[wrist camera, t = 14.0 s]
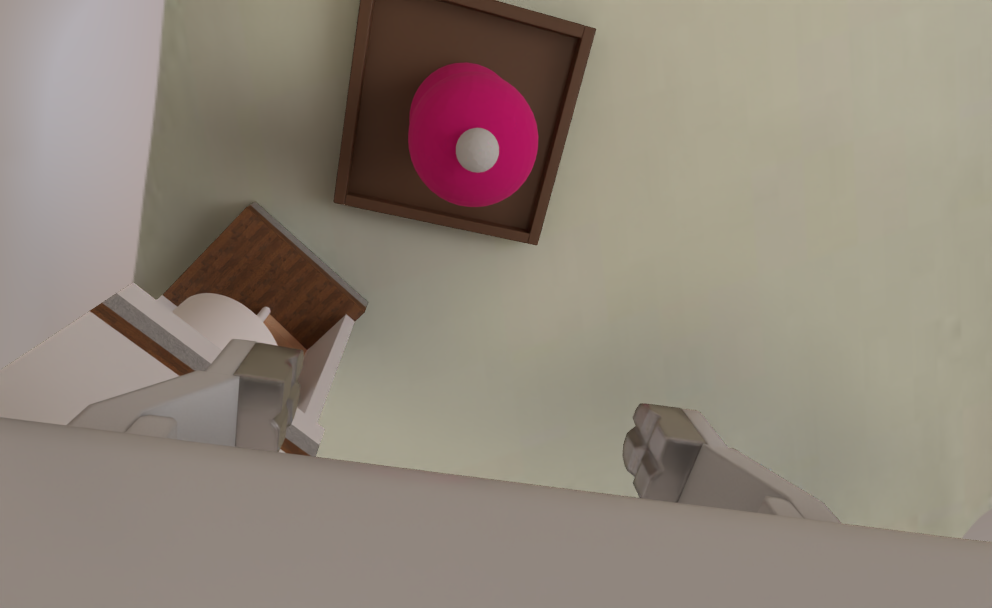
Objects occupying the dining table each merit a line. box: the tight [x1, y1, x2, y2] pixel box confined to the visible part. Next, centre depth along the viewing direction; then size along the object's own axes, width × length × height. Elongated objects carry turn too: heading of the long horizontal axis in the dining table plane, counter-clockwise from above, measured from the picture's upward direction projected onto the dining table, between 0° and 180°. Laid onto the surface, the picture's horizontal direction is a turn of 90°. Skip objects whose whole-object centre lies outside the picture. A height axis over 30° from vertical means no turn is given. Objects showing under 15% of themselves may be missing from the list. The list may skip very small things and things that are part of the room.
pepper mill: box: [408, 62, 538, 207], centre depth 31 cm, size 7×7×20 cm
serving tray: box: [334, 0, 596, 245], centre depth 40 cm, size 16×16×2 cm
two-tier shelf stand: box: [0, 202, 368, 457], centre depth 29 cm, size 11×11×35 cm
